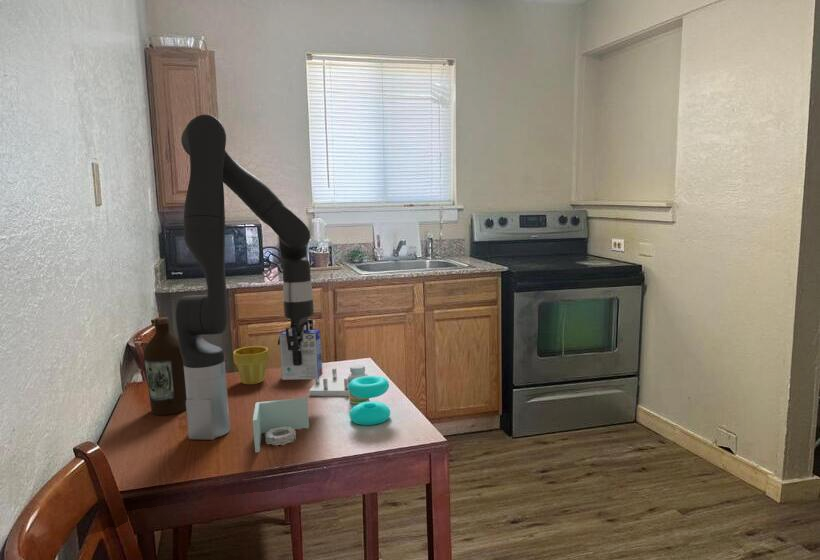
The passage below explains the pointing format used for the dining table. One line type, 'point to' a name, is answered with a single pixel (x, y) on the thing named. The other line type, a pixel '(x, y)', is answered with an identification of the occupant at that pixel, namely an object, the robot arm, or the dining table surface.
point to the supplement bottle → (355, 373)
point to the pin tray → (330, 386)
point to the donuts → (369, 410)
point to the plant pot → (251, 363)
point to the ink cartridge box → (310, 357)
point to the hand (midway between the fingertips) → (302, 361)
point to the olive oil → (165, 371)
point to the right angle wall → (279, 420)
